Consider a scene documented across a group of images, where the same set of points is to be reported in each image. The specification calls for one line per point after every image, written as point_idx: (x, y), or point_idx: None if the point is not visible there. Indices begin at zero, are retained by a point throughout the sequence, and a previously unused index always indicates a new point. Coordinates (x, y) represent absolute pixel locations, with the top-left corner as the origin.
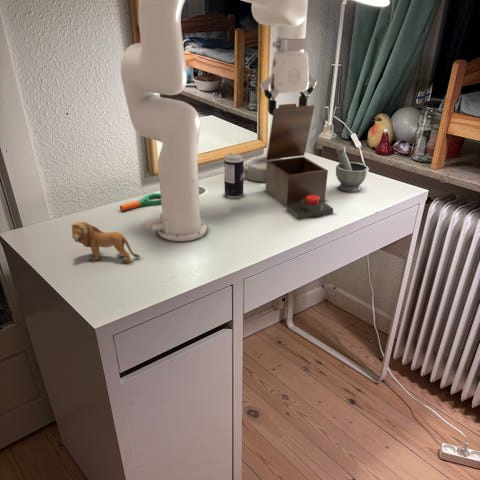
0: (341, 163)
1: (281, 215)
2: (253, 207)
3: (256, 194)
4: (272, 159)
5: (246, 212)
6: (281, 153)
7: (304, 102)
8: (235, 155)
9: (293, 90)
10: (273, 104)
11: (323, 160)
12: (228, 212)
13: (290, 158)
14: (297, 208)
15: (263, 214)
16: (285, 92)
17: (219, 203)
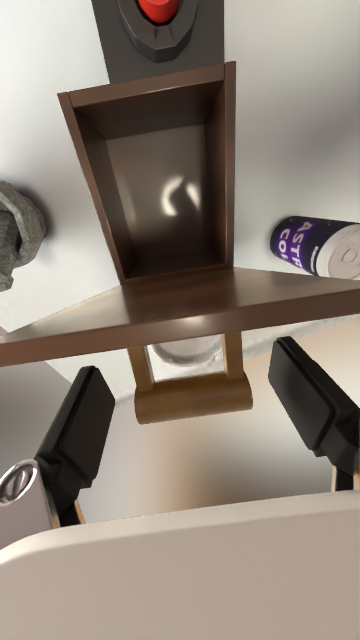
0: (11, 248)
1: (247, 38)
2: (285, 144)
3: (240, 234)
4: (168, 358)
5: (319, 107)
6: (194, 274)
7: (68, 419)
8: (341, 266)
9: (198, 551)
10: (330, 389)
11: (67, 375)
12: (356, 123)
13: (162, 276)
14: (205, 14)
15: (289, 70)
16: (322, 504)
17: (336, 198)
